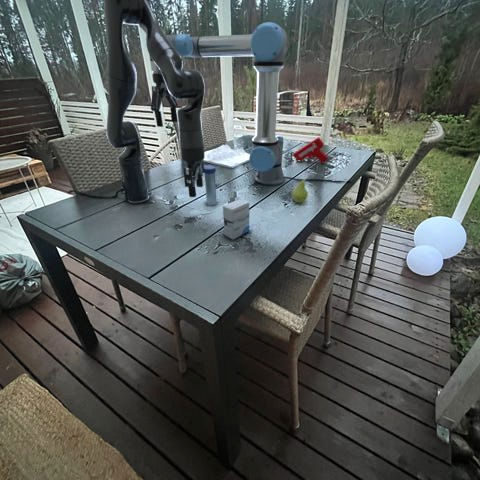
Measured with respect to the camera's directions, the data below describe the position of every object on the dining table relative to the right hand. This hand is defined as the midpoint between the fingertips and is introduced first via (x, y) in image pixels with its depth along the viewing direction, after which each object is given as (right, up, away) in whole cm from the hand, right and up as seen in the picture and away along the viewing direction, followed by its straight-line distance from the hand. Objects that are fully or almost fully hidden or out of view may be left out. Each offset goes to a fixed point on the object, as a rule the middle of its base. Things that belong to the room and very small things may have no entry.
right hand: (167, 124), depth 132 cm
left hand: (+20, -40, -37) cm, 58 cm away
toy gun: (+79, -7, +39) cm, 89 cm away
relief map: (+25, -3, +48) cm, 54 cm away
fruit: (+62, -40, -11) cm, 74 cm away
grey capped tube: (+23, -40, -11) cm, 48 cm away
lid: (+23, -27, -20) cm, 40 cm away
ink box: (+34, -54, -33) cm, 72 cm away
